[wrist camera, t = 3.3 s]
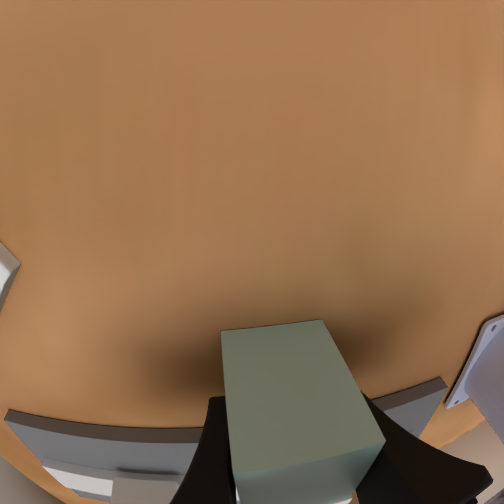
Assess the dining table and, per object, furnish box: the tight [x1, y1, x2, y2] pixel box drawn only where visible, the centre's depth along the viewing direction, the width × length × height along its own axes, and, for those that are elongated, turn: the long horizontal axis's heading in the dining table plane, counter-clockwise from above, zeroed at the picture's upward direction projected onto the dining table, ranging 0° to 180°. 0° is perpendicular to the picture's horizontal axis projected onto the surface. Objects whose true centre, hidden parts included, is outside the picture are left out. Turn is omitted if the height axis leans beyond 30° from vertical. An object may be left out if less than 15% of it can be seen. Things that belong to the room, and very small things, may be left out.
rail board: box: [4, 377, 448, 504], centre depth 14 cm, size 28×12×5 cm, turn 92°
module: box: [221, 319, 386, 504], centre depth 10 cm, size 4×5×6 cm
